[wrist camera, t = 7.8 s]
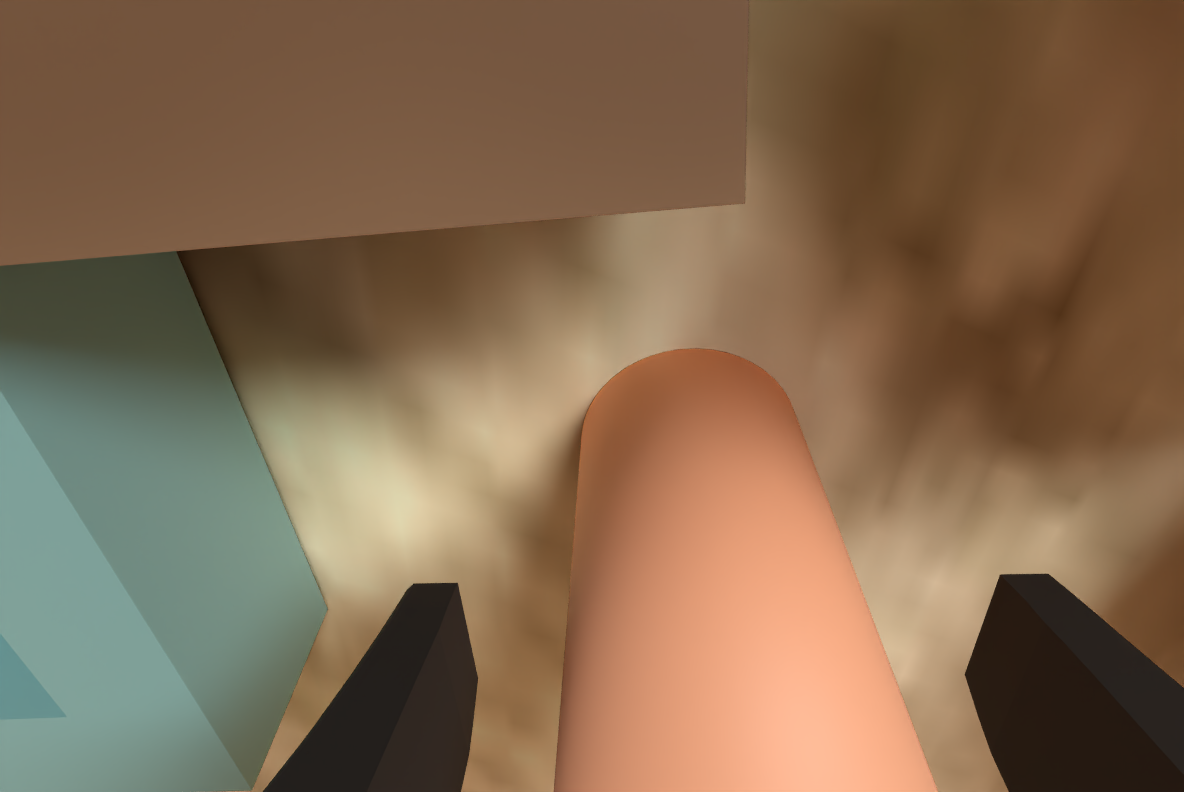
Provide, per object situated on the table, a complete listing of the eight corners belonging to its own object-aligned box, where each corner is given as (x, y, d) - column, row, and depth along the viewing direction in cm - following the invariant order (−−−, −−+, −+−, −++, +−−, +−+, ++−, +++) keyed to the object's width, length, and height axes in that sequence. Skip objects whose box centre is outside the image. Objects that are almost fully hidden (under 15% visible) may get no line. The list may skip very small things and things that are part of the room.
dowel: (566, 360, 13) (504, 836, 6) (798, 337, 12) (1022, 816, 6) (595, 532, 15) (575, 1030, 8) (795, 516, 14) (955, 1026, 8)
